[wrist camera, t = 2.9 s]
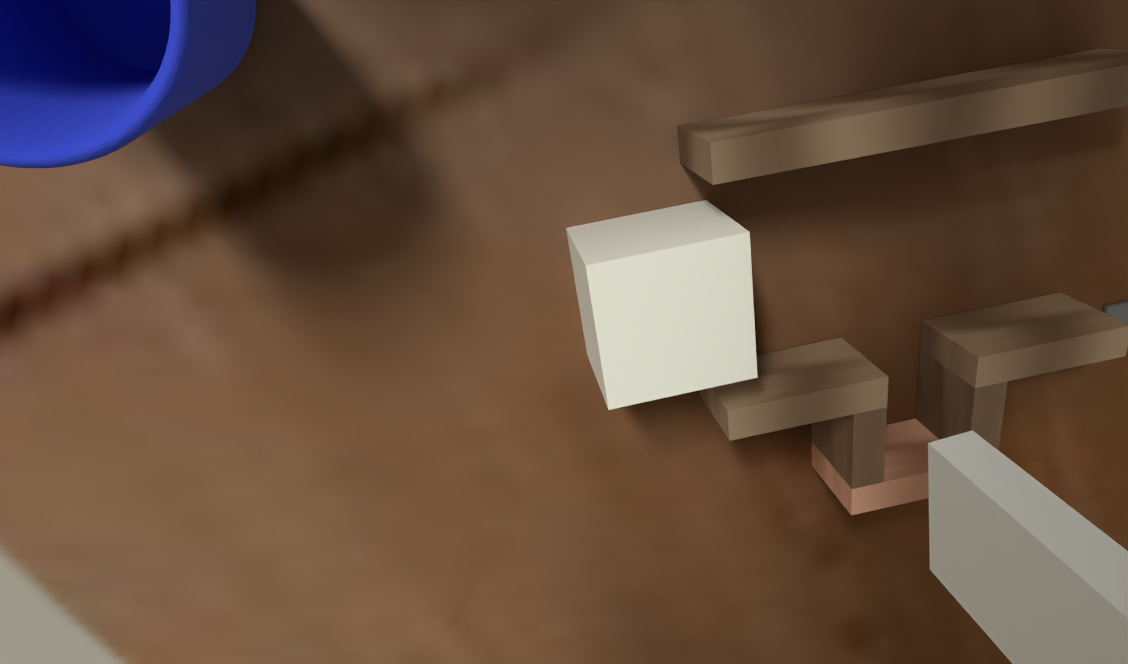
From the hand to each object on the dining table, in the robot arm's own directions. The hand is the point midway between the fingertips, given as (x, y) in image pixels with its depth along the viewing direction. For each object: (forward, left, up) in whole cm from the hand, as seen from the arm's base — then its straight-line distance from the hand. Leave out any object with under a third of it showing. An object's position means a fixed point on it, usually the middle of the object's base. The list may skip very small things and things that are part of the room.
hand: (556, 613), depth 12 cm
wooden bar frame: (+17, -5, -20) cm, 27 cm away
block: (+6, -3, -20) cm, 21 cm away
